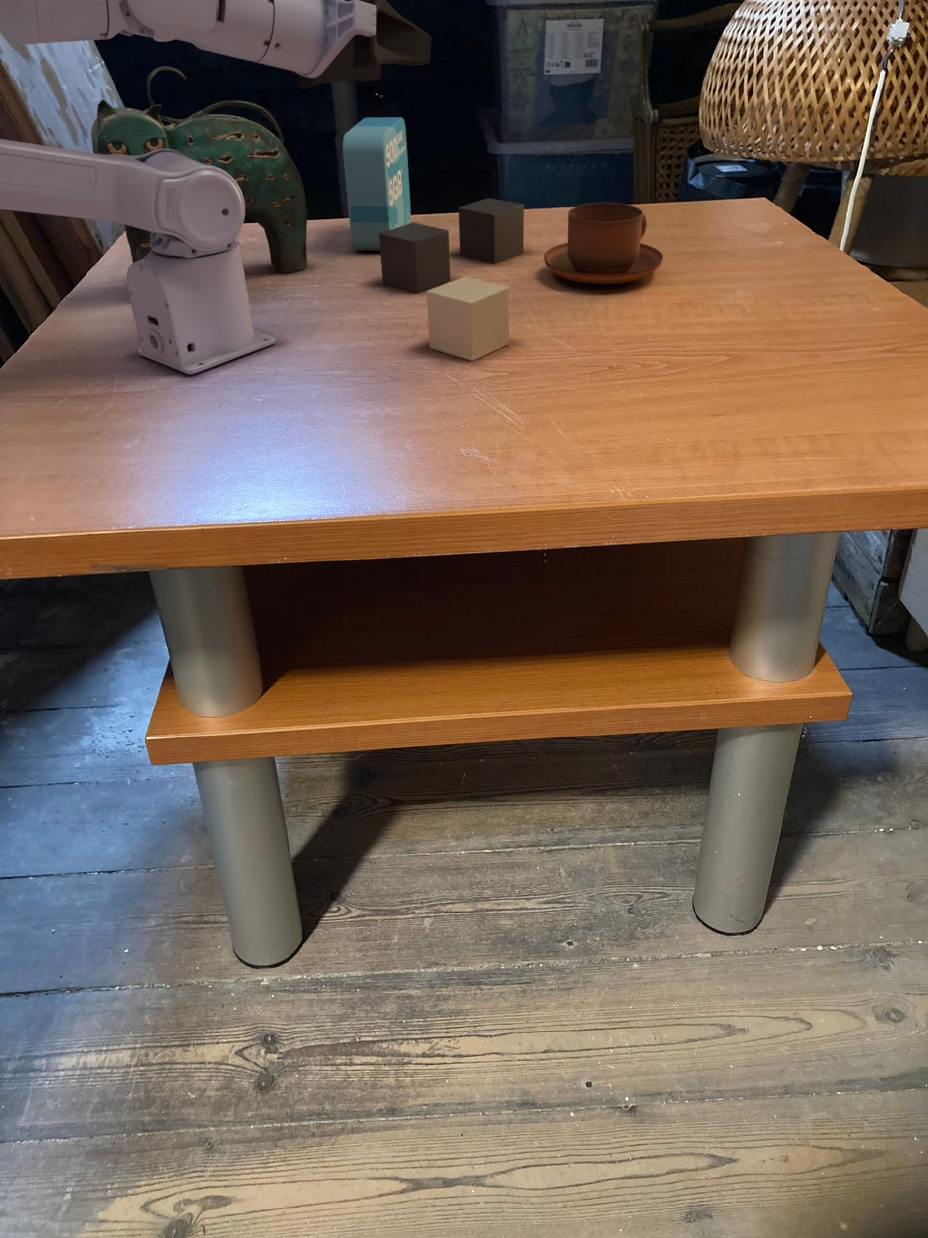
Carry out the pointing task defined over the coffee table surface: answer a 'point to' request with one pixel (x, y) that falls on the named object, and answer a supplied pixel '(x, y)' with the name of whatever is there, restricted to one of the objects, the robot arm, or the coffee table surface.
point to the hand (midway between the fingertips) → (402, 58)
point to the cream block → (468, 317)
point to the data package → (376, 179)
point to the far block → (491, 230)
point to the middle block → (415, 257)
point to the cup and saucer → (604, 246)
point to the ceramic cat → (218, 166)
